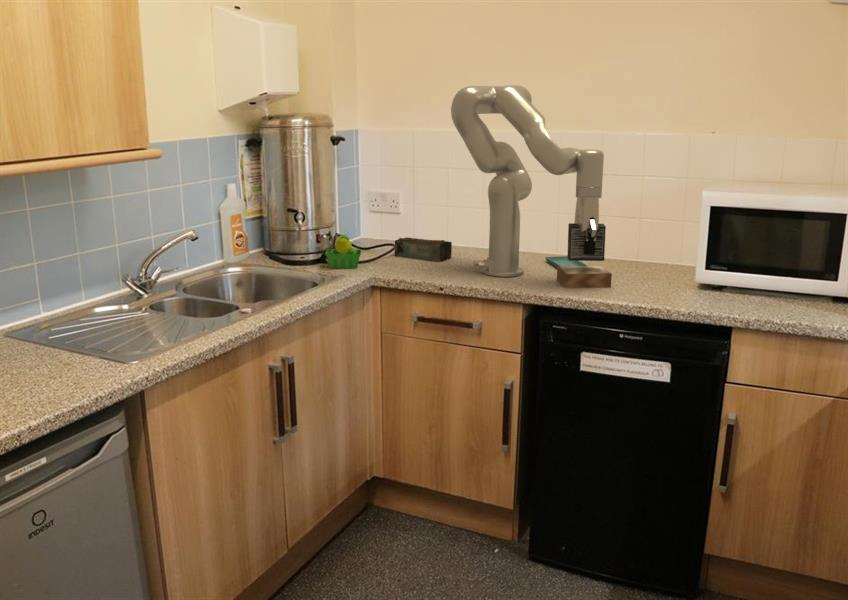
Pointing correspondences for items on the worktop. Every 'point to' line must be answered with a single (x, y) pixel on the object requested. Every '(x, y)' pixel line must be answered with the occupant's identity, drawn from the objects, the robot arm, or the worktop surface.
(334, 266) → the fruit basket
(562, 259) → the shallow long dish
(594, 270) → the brown rectangular tray
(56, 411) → the worktop surface
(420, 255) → the dark rectangular box
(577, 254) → the small box
